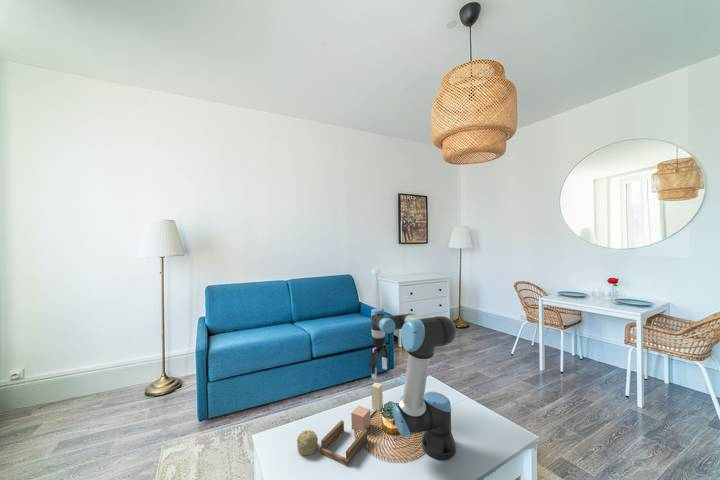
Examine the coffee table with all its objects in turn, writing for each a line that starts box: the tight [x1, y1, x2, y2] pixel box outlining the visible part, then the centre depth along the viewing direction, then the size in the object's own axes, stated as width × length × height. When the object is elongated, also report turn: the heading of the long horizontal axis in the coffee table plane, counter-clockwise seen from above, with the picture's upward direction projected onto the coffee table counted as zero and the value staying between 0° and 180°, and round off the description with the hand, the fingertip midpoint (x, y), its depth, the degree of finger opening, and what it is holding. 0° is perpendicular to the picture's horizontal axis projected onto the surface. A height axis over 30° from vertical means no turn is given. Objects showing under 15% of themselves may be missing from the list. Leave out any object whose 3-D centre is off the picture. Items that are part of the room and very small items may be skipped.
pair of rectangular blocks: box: [350, 382, 384, 431], centre depth 149 cm, size 7×24×13 cm, turn 149°
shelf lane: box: [319, 419, 368, 467], centre depth 129 cm, size 15×17×5 cm
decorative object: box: [296, 429, 319, 457], centre depth 128 cm, size 9×10×10 cm
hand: (379, 373), depth 157 cm, fingers open, 13 cm apart
